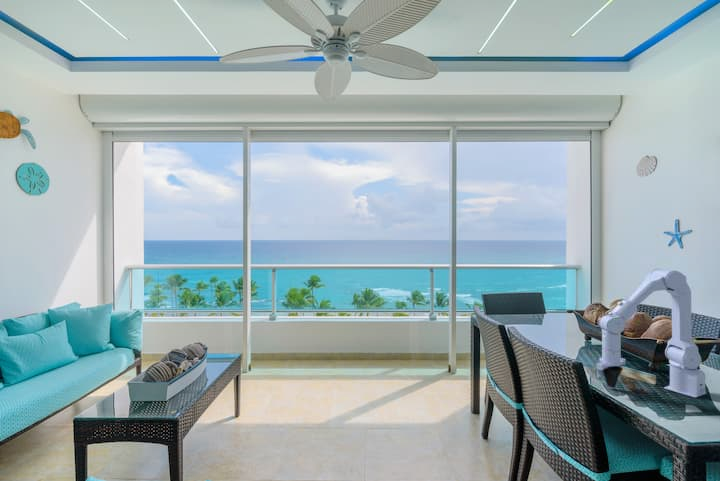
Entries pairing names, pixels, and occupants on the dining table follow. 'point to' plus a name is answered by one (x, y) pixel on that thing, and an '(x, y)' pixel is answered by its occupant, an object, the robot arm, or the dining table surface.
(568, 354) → the dining table surface
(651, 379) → the stop rail
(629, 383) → the seahorse
